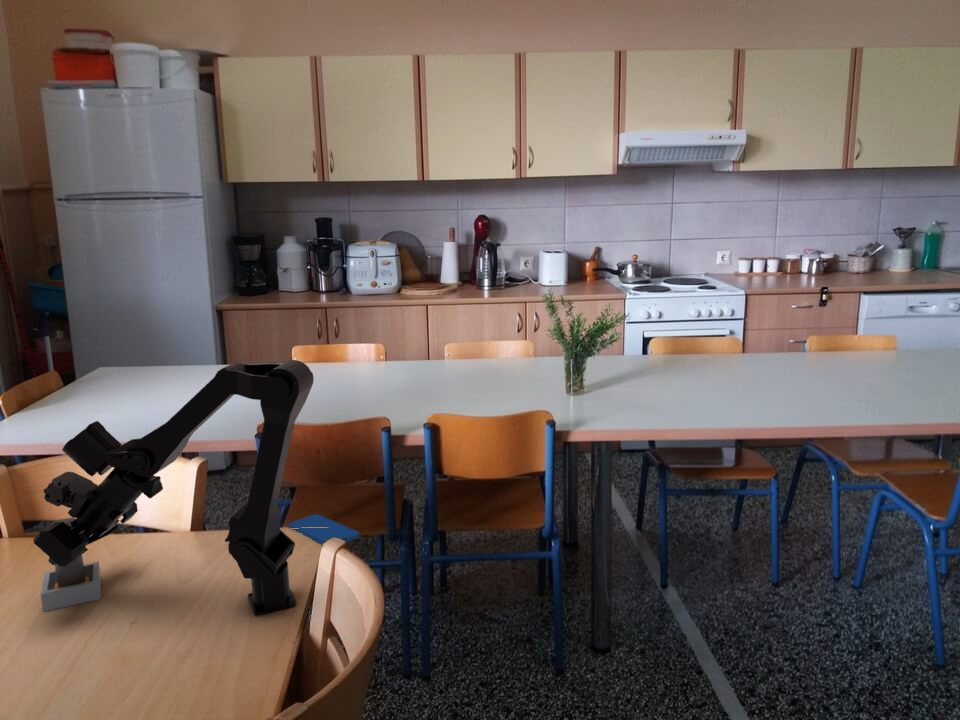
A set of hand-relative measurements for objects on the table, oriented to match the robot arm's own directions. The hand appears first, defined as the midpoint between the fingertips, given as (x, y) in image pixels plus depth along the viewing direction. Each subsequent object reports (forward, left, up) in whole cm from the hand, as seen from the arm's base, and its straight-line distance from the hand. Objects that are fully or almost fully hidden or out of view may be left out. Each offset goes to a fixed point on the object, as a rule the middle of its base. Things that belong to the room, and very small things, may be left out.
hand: (60, 556), depth 120 cm
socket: (-1, -1, -7) cm, 7 cm away
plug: (-1, -1, -7) cm, 7 cm away
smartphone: (+3, -44, -7) cm, 44 cm away
